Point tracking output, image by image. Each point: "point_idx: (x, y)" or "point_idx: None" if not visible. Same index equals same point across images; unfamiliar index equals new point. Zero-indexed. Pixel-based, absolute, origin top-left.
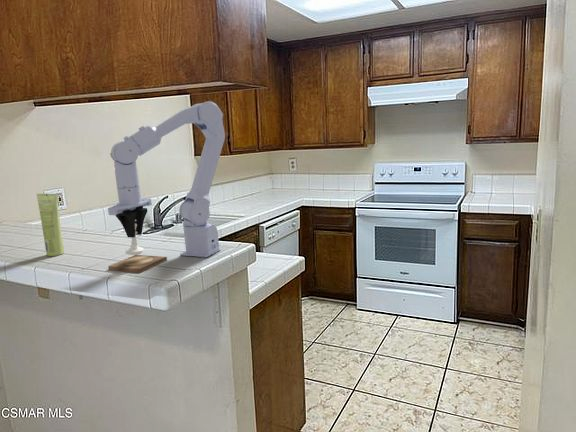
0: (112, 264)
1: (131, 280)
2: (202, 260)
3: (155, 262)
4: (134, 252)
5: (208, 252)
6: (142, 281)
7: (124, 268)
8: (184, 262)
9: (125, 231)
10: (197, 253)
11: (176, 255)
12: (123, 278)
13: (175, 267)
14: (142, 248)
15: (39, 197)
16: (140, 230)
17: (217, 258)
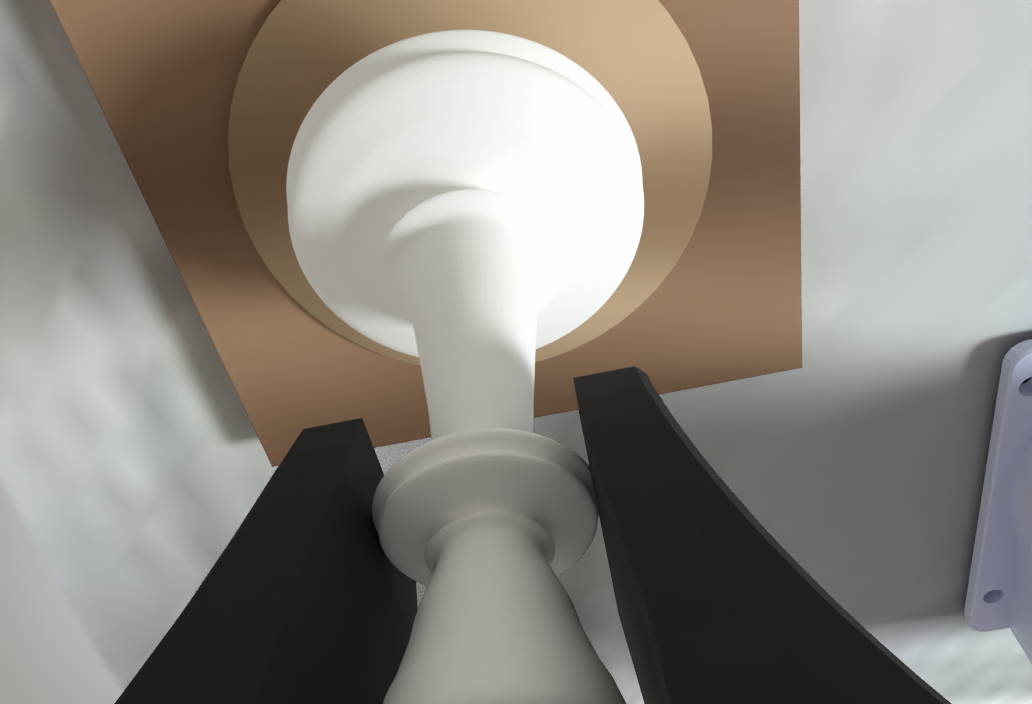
0: None
1: (77, 534)
2: (871, 630)
3: (560, 409)
4: (371, 337)
5: (1023, 649)
6: (143, 624)
7: (170, 236)
8: None
9: (233, 543)
10: (1021, 546)
11: (1022, 281)
12: (38, 424)
13: (594, 584)
14: (587, 307)
15: None
16: (627, 636)
17: (956, 685)
